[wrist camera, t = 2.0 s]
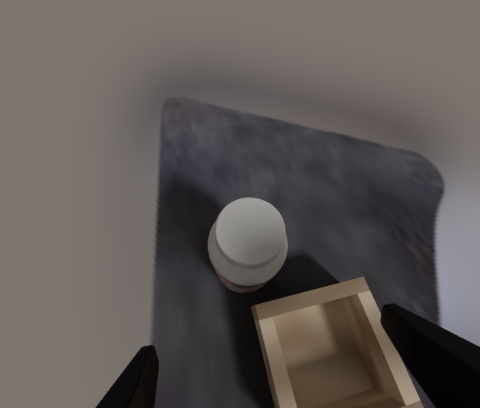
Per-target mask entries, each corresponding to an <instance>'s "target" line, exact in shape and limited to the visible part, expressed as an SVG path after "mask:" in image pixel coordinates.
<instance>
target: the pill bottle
mask: <svg viewBox="0 0 480 408" xmlns="http://www.w3.org/2000/svg"><path fill="white" fill-rule="evenodd" d="M287 249H288V243H287V237H286V229H285V224H284V221H283V219H282V216H281V215H280V213H279V212H278V210H277V209H276V208H275V207H273V206H272V205H271V204H269V203H268V202H266V201H264V200H261V199H258V198H241V199H237V200H235V201H233V202H231V203H229V204H228V205H227V206H226V207H225V208H224V209H223V210H222V211H221V212H220V214H219V216H218V218H217V220H216V222H215V223H214V224H213V226H212V228H211V230H210V233H209V237H208V253H209V257H210V260H211V263H212V265H213V267H214V269H215V271H216V274H217V276H218V278H219V279H220V281H221V282H222V283H223V284H224V285H225V286H226V287H227V288H229V289H230V290H232V291H235V292H239V293H249V292H253V291H256V290H258V289H259V288H261V287H262V286H263V285H265V284H266V283H267V282H268V281H269V280H270V279H271V278H273V277H274V276H275V275H276V274H277V273H278V271H279V270H280V269H281V267H282V266H283V263H284V261H285V259H286V255H287Z"/></svg>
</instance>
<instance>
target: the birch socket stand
mask: <svg viewBox="0 0 480 408" xmlns="http://www.w3.org/2000/svg"><path fill="white" fill-rule="evenodd" d="M251 308H252V312H253V317H254V321H255V325H256V329H257V334H258V338H259V342H260V346H261V351H262V355H263V359H264V363H265V368H266V372H267V376H268V380H269V385H270V389H271V393H272V397H273V402H274V406H275V408H424V407H423V405H422V403H421V401H420V399H419V397H418V394H417V392H416V390H415V388H414V386H413V384H412V381H411V379H410V377H409V375H408V373H407V370H406V368H405V366H404V364H403V362H402V360H401V357H400V355H399V354H398V352H397V350H396V349H395V347H394V346H393V344H392V342H391V341H390V339H389V337H388V336H387V334H386V332H385V331H384V329H383V327H382V325H381V322H380V319H381V314H380V312H379V309H378V307H377V305H376V303H375V301H374V299H373V296H372V294H371V292H370V290H369V288H368V285H367V283H366V281H365V279H364V277H360V278H357V279H353V280H349V281H345V282H341V283H337V284H334V285H330V286H326V287H322V288H318V289H314V290H311V291H307V292H303V293H299V294H295V295H291V296H288V297H284V298H280V299H276V300H272V301H269V302H265V303H261V304H257V305H254V306H252V307H251Z"/></svg>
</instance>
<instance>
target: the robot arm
mask: <svg viewBox="0 0 480 408" xmlns="http://www.w3.org/2000/svg"><path fill="white" fill-rule="evenodd" d="M380 322H381V325H382V327H383V329H384V331H385V332H386V334H387V336H388V337H389V339H390V341H391V342H392V344H393V346H394V347H395V349H396V350H397V352H398V354H399V355H400V357H401V359H402V360H403V362H404V363H405V365H406V367H407V368H408V370H409V371H410V372H411V374H412V375H413V377H414V378H415V379H416V381H417V382H418V384H419V385H420V386H421V388H422V389H423V391H424V392H425V393H426V395H427V396H428V397H429V399H430V400H431V402H432V403H433V404H434V406H435V407H436V408H480V347H479V346H477V345H475V344H473V343H471V342H469V341H467V340H465V339H463V338H461V337H459V336H457V335H455V334H453V333H451V332H449V331H447V330H445V329H443V328H442V327H440V326H438V325H436V324H434V323H432V322H430V321H428V320H426V319H424V318H422V317H420V316H418V315H416V314H414V313H412V312H410V311H408V310H406V309H404V308H402V307H400V306H398V305H396V304H386V305H384V306H383V307H382V312H381V319H380ZM158 370H159V361H158V357H157V353H156V350H155V347H154V346H153V345H149V346H144V347H142V348H141V349H140V350H139V351H138V353H137V354H136V355H135V356H134V358H133V359H132V361H131V362H130V363H129V365H128V366H127V367H126V368H125V370H124V371H123V372H122V374H121V375H120V376H119V378H118V379H117V380H116V381H115V383H114V384H113V386H112V387H111V388H110V389H109V391H108V392H107V393H106V395H105V396H104V397H103V399H102V400H101V401H100V403H99V404H98V405H97V407H96V408H154V405H155V396H156V387H157V378H158Z"/></svg>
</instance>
